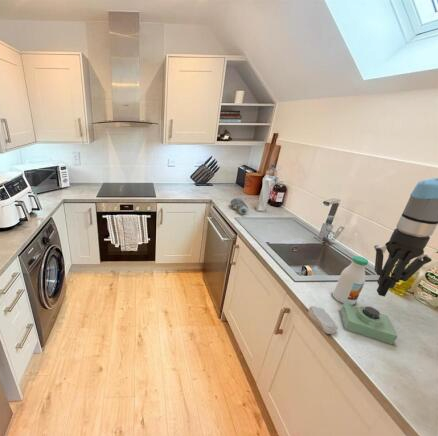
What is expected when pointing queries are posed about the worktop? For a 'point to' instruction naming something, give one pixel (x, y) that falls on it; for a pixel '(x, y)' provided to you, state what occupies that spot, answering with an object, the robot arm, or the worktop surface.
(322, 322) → the soap bar
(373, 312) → the black disc
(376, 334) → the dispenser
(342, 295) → the milk bottle
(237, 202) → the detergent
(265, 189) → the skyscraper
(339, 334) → the worktop surface
